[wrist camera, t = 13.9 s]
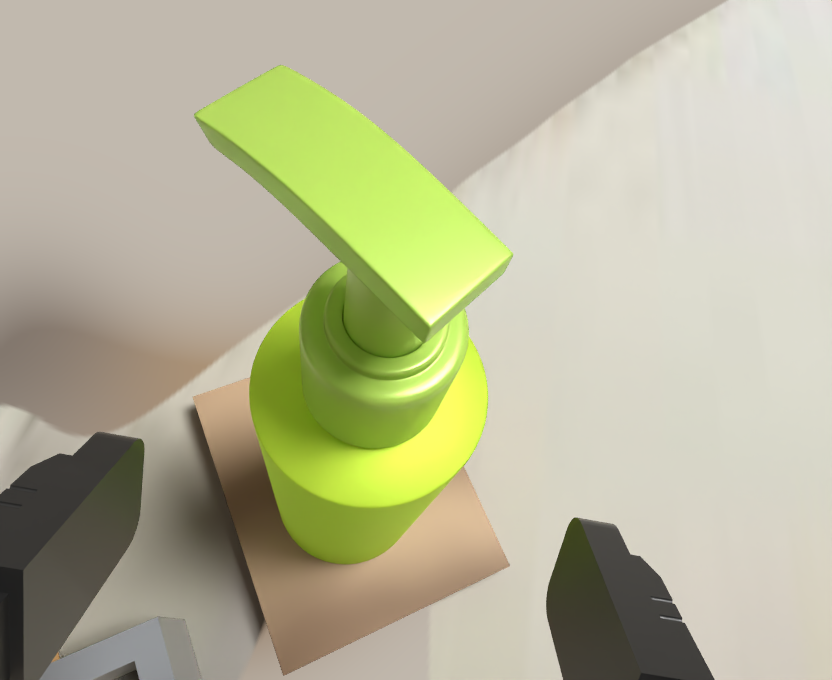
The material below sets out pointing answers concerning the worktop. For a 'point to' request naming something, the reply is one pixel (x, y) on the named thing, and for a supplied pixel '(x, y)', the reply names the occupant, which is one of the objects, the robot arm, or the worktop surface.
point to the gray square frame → (133, 655)
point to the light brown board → (328, 582)
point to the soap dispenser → (360, 320)
